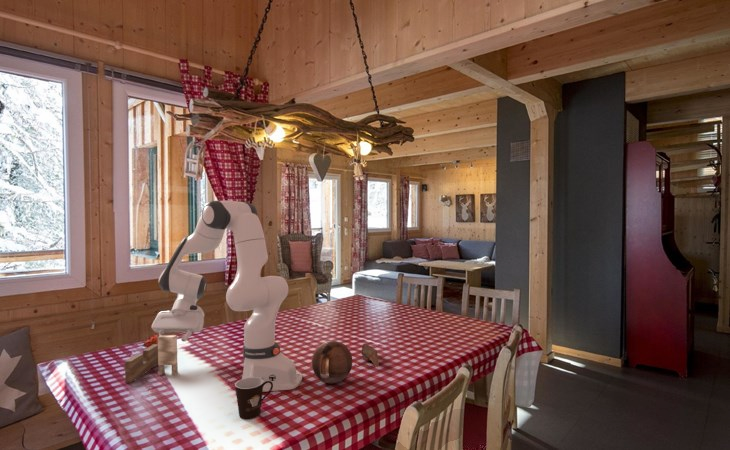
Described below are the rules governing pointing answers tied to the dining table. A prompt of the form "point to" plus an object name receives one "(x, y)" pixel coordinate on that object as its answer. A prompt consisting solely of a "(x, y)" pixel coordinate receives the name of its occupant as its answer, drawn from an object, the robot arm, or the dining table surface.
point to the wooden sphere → (332, 362)
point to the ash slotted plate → (167, 353)
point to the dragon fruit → (151, 341)
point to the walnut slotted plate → (141, 363)
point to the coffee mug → (250, 396)
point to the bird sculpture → (370, 354)
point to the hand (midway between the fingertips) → (171, 340)
